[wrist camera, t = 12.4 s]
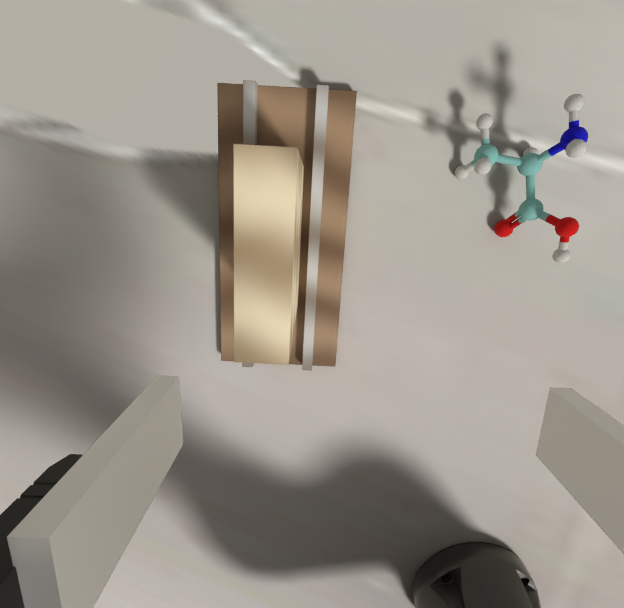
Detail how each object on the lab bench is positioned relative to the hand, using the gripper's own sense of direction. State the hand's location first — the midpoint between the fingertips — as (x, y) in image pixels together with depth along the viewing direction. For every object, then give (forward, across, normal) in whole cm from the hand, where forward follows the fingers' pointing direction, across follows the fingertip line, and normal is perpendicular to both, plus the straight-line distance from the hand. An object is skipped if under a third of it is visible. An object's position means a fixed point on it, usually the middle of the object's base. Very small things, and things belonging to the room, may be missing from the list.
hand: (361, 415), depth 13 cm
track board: (+25, +5, -4) cm, 26 cm away
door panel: (+24, +5, -4) cm, 25 cm away
